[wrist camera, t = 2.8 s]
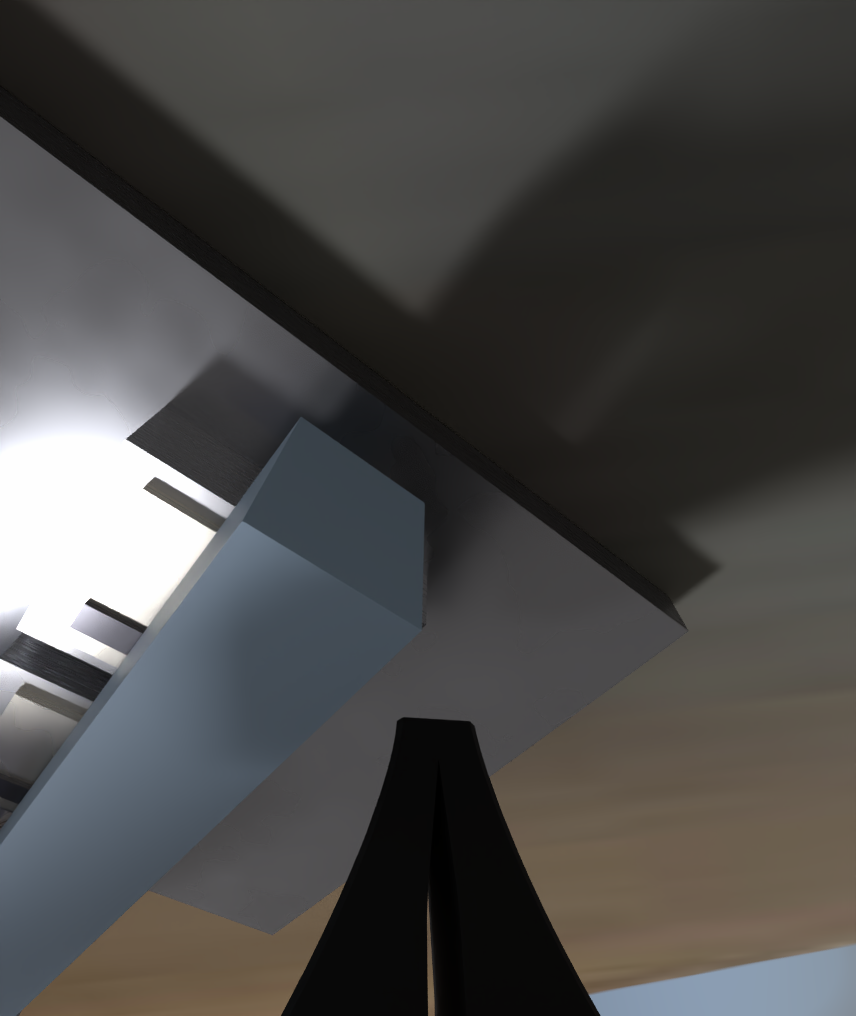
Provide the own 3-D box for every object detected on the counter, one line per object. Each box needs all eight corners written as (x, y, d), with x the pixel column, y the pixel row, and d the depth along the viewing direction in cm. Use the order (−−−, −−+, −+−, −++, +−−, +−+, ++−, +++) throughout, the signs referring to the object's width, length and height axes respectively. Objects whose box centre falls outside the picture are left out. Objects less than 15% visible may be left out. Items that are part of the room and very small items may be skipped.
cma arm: (43, 943, 16) (-29, 1084, 13) (-80, 905, 15) (-182, 1049, 12) (450, 521, 9) (456, 652, 6) (269, 394, 8) (195, 491, 5)
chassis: (280, 897, 21) (258, 1000, 18) (-339, 657, 15) (-502, 758, 12) (668, 597, 14) (724, 693, 11) (-219, -82, 8) (-540, -211, 5)
